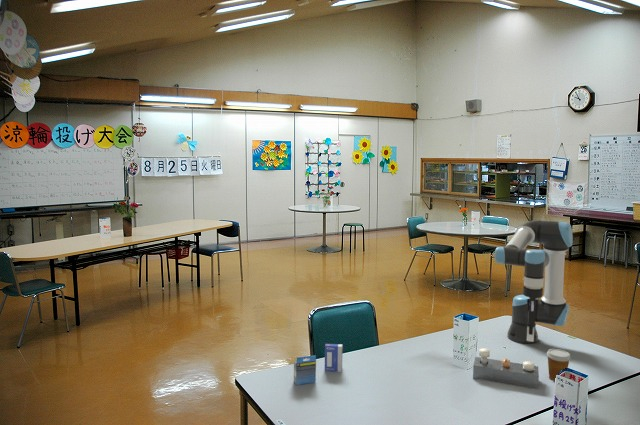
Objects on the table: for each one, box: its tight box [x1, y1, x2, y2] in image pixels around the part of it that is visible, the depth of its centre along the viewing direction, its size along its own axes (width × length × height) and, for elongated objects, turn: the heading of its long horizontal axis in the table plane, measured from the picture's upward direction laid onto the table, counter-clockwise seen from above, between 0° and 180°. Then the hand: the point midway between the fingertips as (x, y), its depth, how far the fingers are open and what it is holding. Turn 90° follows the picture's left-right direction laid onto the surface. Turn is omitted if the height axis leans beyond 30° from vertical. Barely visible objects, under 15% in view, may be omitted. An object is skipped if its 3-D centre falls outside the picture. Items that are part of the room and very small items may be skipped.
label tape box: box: [293, 354, 317, 386], centre depth 210 cm, size 9×4×12 cm, turn 109°
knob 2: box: [522, 360, 535, 371], centre depth 211 cm, size 4×4×8 cm
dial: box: [501, 358, 511, 367], centre depth 214 cm, size 3×3×3 cm
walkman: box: [324, 343, 344, 373], centre depth 222 cm, size 8×3×12 cm, turn 85°
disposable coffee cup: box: [546, 348, 572, 382], centre depth 215 cm, size 10×10×12 cm
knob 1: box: [478, 347, 491, 364], centre depth 218 cm, size 4×4×8 cm
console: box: [472, 356, 540, 391], centre depth 215 cm, size 10×26×6 cm, turn 68°
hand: (530, 340), depth 210 cm, fingers closed
